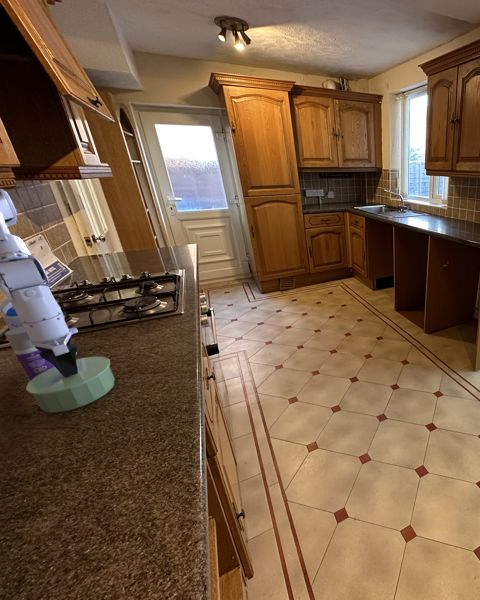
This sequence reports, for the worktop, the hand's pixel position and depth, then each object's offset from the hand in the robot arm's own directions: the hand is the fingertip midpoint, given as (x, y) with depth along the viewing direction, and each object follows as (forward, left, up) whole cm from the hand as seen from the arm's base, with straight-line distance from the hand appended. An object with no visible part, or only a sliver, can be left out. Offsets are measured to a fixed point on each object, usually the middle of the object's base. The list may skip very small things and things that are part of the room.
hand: (69, 371), depth 72 cm
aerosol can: (-17, -1, -6) cm, 18 cm away
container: (-10, -4, -6) cm, 12 cm away
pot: (0, 0, -6) cm, 6 cm away
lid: (0, 0, -1) cm, 1 cm away
